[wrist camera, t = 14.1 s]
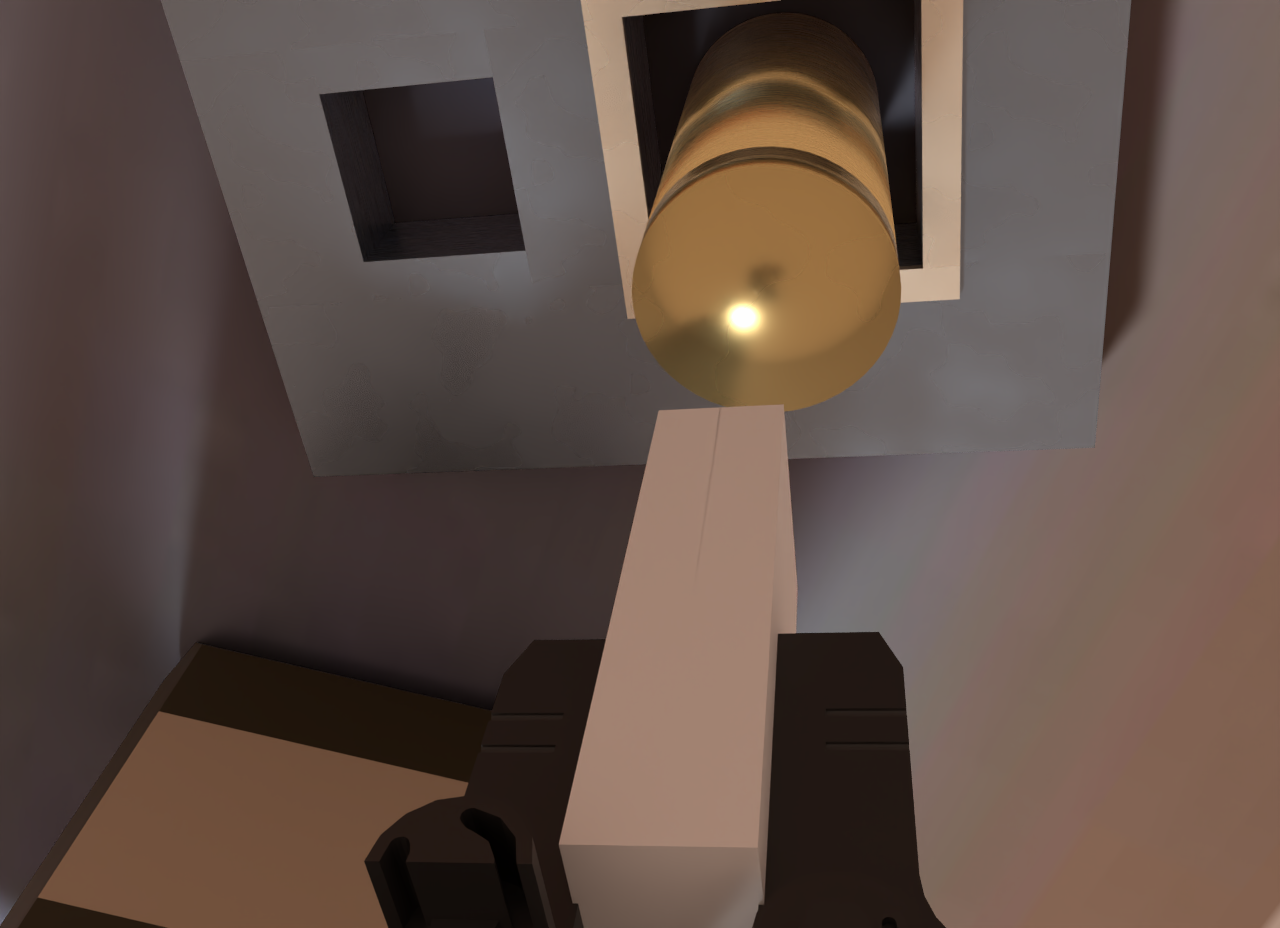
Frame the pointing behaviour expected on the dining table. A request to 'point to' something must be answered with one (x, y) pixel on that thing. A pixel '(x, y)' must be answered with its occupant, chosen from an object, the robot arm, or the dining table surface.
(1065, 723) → the dining table surface
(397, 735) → the brown box
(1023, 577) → the dining table surface
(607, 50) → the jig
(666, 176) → the gold cylinder
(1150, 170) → the dining table surface
